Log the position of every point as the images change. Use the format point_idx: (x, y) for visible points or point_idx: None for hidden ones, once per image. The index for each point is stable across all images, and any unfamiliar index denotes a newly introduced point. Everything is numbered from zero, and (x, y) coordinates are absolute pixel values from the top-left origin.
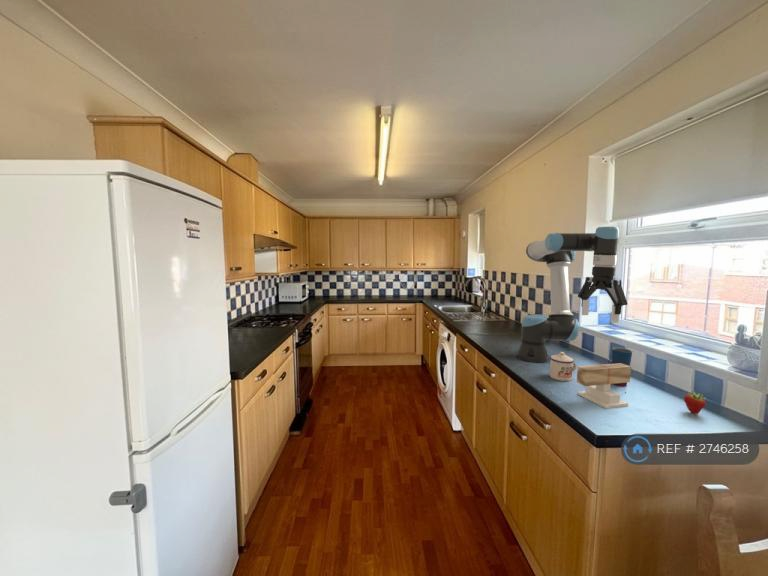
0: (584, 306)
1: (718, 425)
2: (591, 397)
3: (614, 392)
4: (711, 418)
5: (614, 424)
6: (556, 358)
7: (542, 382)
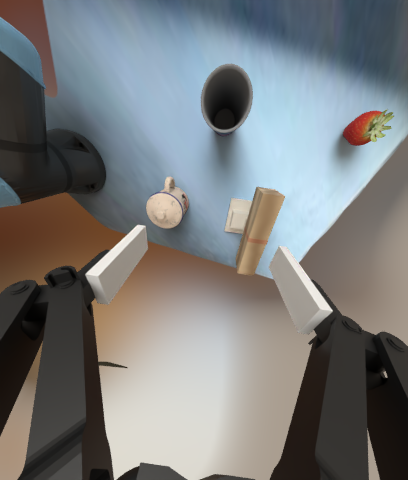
0: (128, 272)
1: (379, 143)
2: (242, 231)
3: None
4: None
5: None
6: (167, 226)
7: (183, 237)
